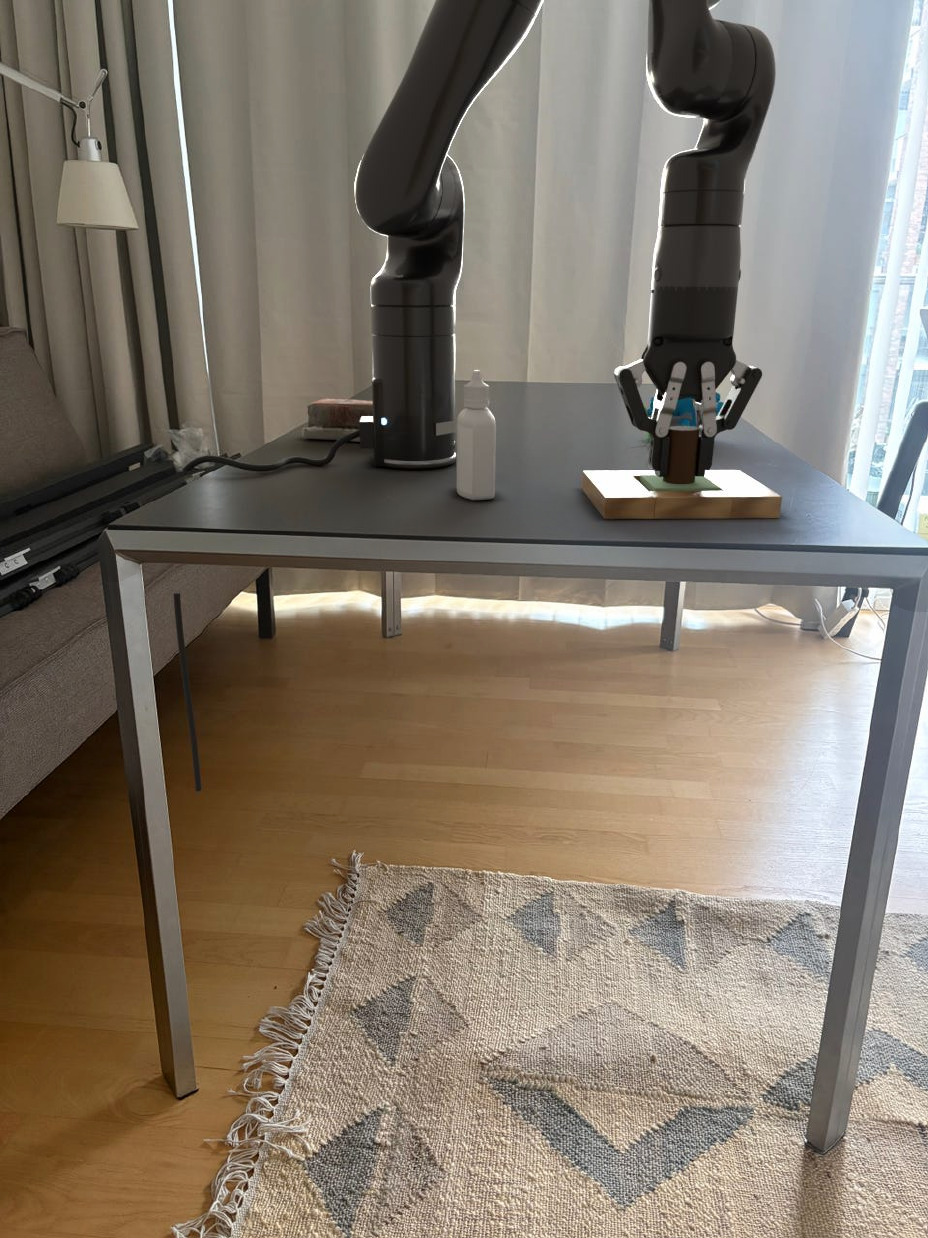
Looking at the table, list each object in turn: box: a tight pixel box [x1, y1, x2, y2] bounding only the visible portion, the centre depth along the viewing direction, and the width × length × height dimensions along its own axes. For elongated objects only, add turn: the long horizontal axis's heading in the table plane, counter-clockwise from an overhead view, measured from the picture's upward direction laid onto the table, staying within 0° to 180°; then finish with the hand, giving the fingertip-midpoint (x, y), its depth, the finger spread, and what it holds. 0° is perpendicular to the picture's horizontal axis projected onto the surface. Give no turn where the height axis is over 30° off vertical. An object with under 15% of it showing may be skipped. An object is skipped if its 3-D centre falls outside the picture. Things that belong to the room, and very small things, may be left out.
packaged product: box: [301, 398, 373, 443], centre depth 124 cm, size 18×5×10 cm
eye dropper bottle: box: [456, 369, 497, 501], centre depth 90 cm, size 4×6×12 cm
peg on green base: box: [640, 426, 719, 491], centre depth 88 cm, size 6×6×7 cm
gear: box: [644, 391, 724, 442], centre depth 122 cm, size 11×6×10 cm
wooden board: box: [581, 469, 783, 520], centre depth 89 cm, size 16×12×2 cm
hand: (678, 474), depth 89 cm, fingers closed on peg on green base, 3 cm apart
